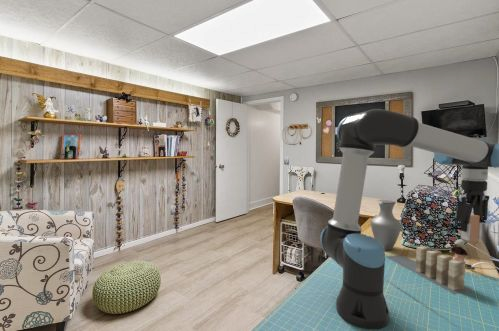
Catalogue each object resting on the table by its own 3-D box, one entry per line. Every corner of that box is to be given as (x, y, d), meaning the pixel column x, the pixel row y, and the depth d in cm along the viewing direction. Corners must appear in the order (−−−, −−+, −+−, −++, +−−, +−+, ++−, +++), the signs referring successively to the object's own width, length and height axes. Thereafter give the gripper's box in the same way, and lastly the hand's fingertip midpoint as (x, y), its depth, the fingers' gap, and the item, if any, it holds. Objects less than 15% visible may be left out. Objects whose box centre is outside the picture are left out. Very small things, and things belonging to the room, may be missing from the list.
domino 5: (468, 242, 98) (469, 216, 97) (462, 240, 100) (464, 215, 99) (478, 241, 99) (479, 215, 98) (472, 239, 101) (474, 214, 100)
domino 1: (419, 272, 104) (420, 248, 103) (415, 270, 106) (416, 247, 105) (429, 271, 105) (430, 247, 104) (425, 269, 107) (426, 246, 106)
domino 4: (453, 290, 91) (454, 263, 90) (447, 287, 93) (449, 260, 92) (463, 288, 92) (465, 261, 91) (458, 285, 94) (459, 259, 93)
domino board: (454, 296, 88) (454, 294, 88) (385, 258, 120) (385, 256, 119) (474, 293, 91) (474, 290, 91) (401, 256, 122) (401, 254, 122)
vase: (366, 248, 132) (367, 201, 130) (373, 241, 143) (375, 197, 141) (397, 256, 122) (399, 205, 121) (403, 247, 133) (405, 200, 132)
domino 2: (430, 278, 100) (431, 253, 99) (425, 275, 101) (426, 251, 101) (440, 276, 101) (441, 252, 100) (435, 274, 103) (436, 250, 102)
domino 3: (441, 283, 95) (442, 257, 95) (436, 281, 97) (437, 255, 97) (451, 282, 96) (452, 256, 96) (446, 279, 98) (447, 254, 98)
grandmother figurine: (471, 270, 108) (473, 241, 107) (466, 272, 106) (468, 242, 106) (450, 263, 115) (452, 235, 114) (446, 264, 113) (447, 237, 112)
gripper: (466, 181, 92) (462, 244, 94) (503, 180, 96) (498, 240, 98) (446, 179, 99) (443, 237, 101) (480, 178, 104) (477, 234, 105)
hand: (470, 238), depth 99 cm, fingers closed on domino 5, 5 cm apart
